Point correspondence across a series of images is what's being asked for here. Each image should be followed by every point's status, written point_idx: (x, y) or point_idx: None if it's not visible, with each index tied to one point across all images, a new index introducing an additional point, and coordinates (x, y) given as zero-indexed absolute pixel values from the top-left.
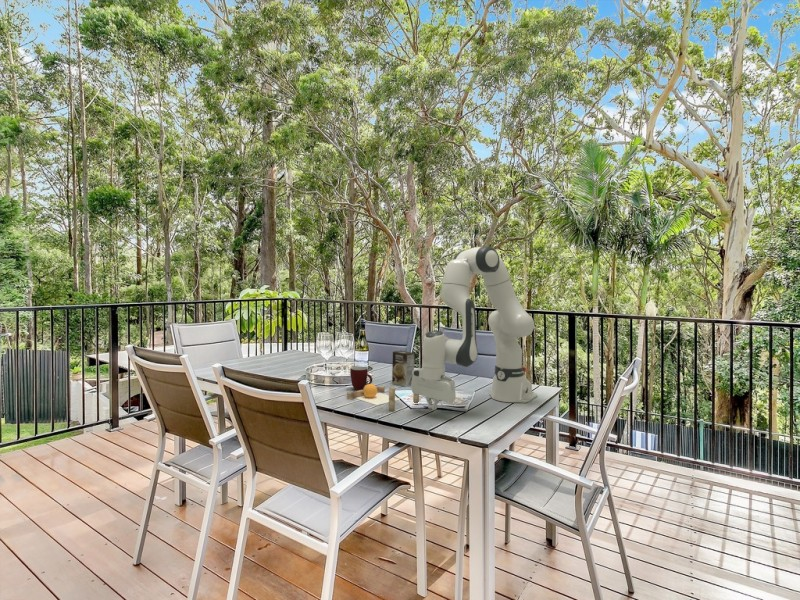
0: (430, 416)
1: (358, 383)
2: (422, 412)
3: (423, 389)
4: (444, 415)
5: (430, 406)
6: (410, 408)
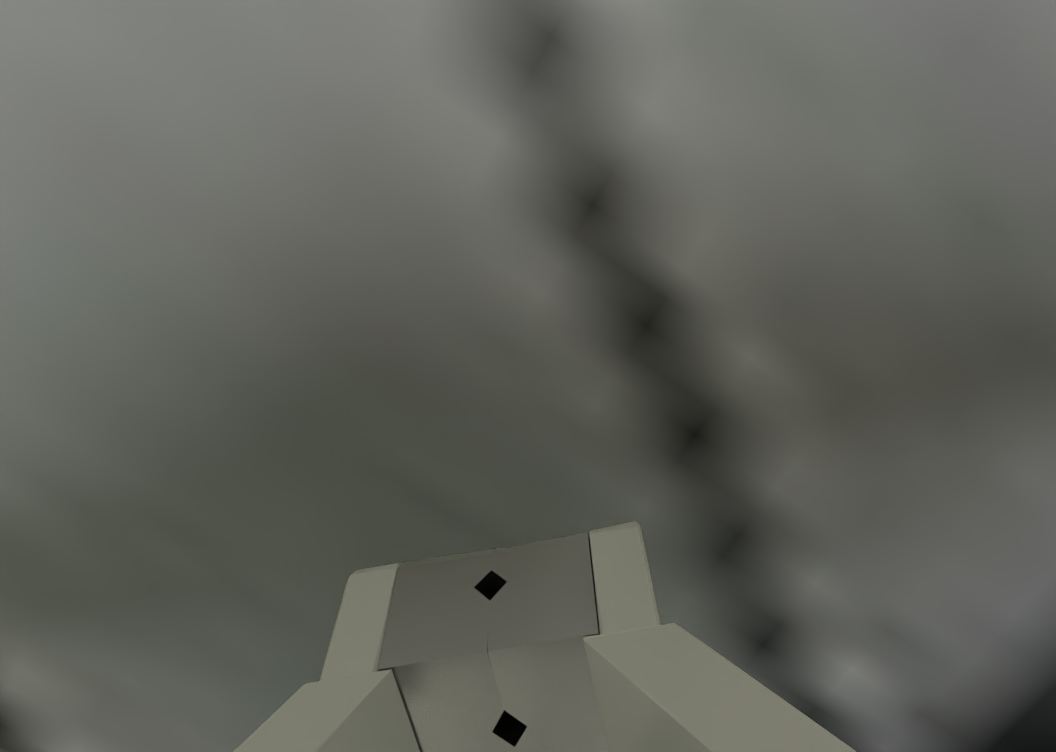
0: (371, 333)
1: None
2: (855, 352)
3: None
4: (286, 694)
5: (520, 594)
6: None
